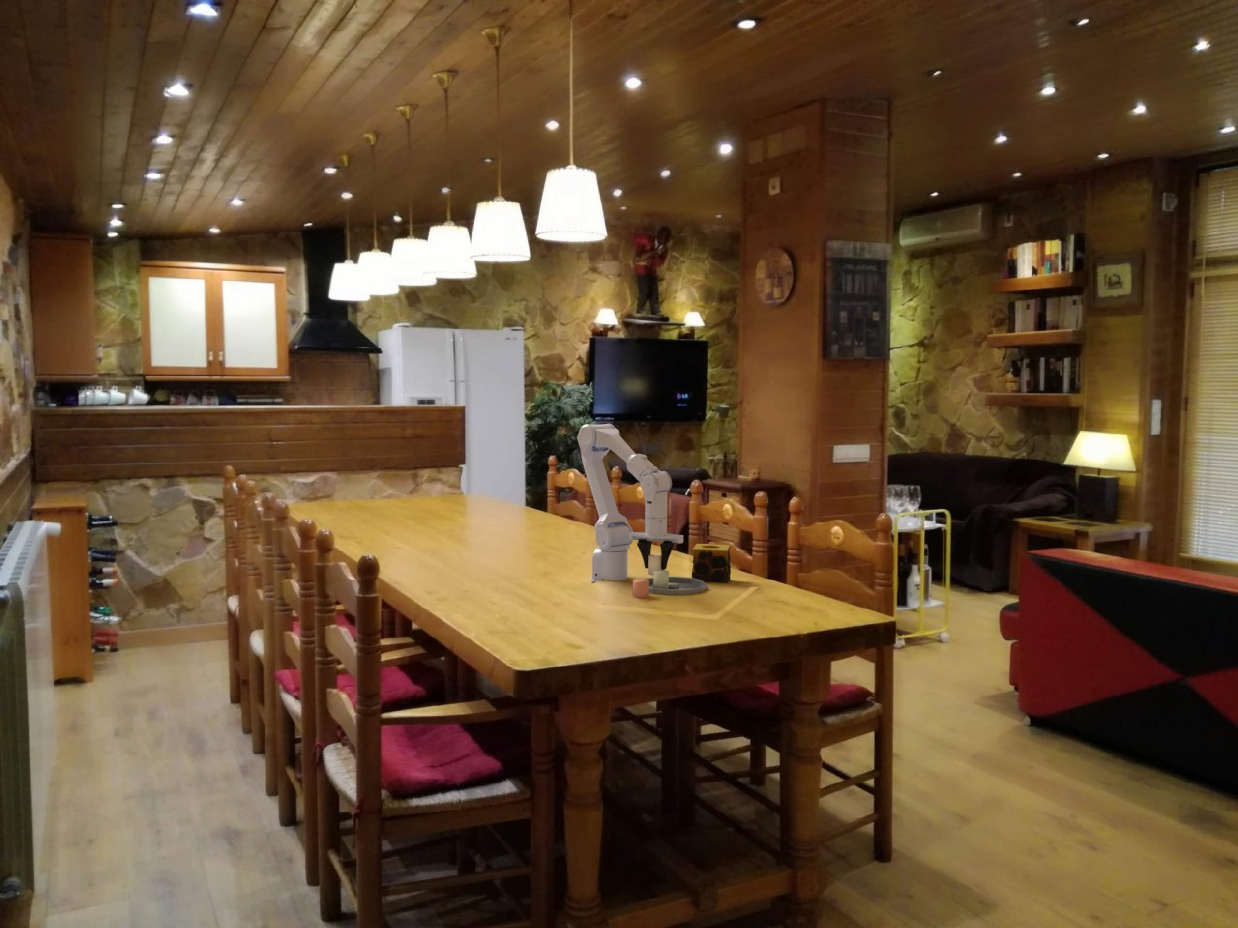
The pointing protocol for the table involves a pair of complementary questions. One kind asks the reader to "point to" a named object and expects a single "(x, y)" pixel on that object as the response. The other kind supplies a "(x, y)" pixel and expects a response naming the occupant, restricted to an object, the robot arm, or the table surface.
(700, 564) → the yellow black patterned cube
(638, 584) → the bead
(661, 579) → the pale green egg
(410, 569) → the table surface
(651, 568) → the bead
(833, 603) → the table surface
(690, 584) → the groove tray
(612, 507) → the robot arm
